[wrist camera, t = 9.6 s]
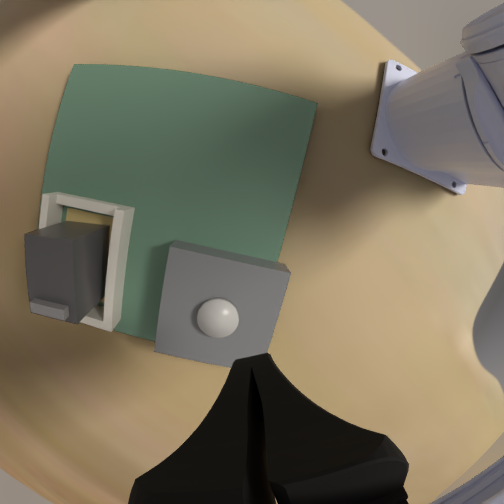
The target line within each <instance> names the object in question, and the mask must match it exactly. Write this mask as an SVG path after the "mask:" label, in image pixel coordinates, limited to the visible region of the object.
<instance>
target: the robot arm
mask: <svg viewBox="0 0 504 504" xmlns="http://www.w3.org/2000/svg"><path fill="white" fill-rule="evenodd" d="M461 45H462V47H463V48H464V49H465V52H463V53H461V54H459V55H456V56H454V57H452V58H449V59H447V60H445V61H443V62H440V63H438V64H436V65H434V66H432V67H430V68H427V69H425V70H423V71H421V72H419V73H417V72H415V71H413V70H412V69H410V68H408V67H406V66H404V65H402V64H400V63H398V62H396V61H394V60H392V59H390V60H388V61H387V62H386V63H385V69H384V76H383V83H382V89H381V95H380V101H379V107H378V112H377V118H376V123H375V128H374V133H373V138H372V143H371V148H370V151H371V153H372V155H373V156H375V157H377V158H380V159H382V160H385V161H387V162H390V163H392V164H394V165H397V166H399V167H401V168H404V169H406V170H408V171H411V172H413V173H415V174H417V175H420V176H422V177H424V178H426V179H428V180H431V181H433V182H435V183H437V184H439V185H441V186H443V187H445V188H447V189H449V190H451V191H453V192H455V193H457V194H460V195H463V194H464V193H465V191H466V185H467V184H474V185H484V186H494V187H503V188H504V3H503V4H501V5H499V6H497V7H495V8H493V9H491V10H490V11H488V12H486V13H484V14H483V15H481V16H479V17H478V18H476V19H475V20H473V21H471V22H470V23H469V24H467V25H466V26H465V27H464V28H463V29H462V40H461ZM396 67H398V68H399V71H398V70H397V69H396ZM382 149H384V150H385V156H384V155H383V154H382ZM452 183H453V186H452ZM408 468H409V464H408V462H407V460H406V458H405V456H404V455H403V453H402V452H401V451H400V450H399V448H398V447H397V446H396V445H395V444H394V443H393V442H392V441H391V440H390V439H389V438H388V437H387V436H386V435H384V434H380V433H377V432H373V431H370V430H366V429H363V428H360V427H358V426H356V425H353V424H351V423H348V422H346V421H344V420H342V419H340V418H338V417H337V416H335V415H333V414H331V413H329V412H327V411H326V410H324V409H323V408H321V407H319V406H318V405H317V404H315V403H314V402H312V401H311V400H310V399H308V398H307V397H306V396H305V395H304V394H302V393H301V392H300V391H299V390H298V389H297V388H296V387H295V386H294V385H293V384H292V383H291V382H290V381H289V380H288V379H287V378H286V377H285V376H284V375H283V373H282V372H281V371H280V370H279V368H278V367H277V366H276V364H275V363H274V361H273V359H272V357H271V355H270V354H268V353H264V354H259V355H255V356H250V357H245V358H241V359H236V360H235V361H234V362H233V364H232V367H231V370H230V372H229V375H228V377H227V380H226V382H225V384H224V386H223V388H222V390H221V392H220V394H219V396H218V398H217V399H216V401H215V403H214V404H213V406H212V408H211V410H210V411H209V413H208V414H207V416H206V417H205V418H204V420H203V421H202V422H201V424H200V425H199V426H198V428H197V429H196V430H195V431H194V432H193V433H192V435H191V436H190V437H189V438H188V439H187V440H186V441H185V442H184V443H183V444H182V445H181V446H180V447H179V448H178V449H177V450H176V451H175V452H173V453H172V454H171V455H170V456H169V457H167V458H166V459H165V460H164V461H162V462H161V463H160V464H158V465H157V466H155V467H154V468H152V469H151V470H149V471H148V472H146V473H145V474H143V475H141V476H140V477H138V478H136V479H135V482H134V485H133V487H132V490H131V493H130V497H129V502H128V504H276V501H275V498H276V500H277V503H278V504H408V502H407V500H406V499H407V498H408V495H407V493H406V491H405V489H404V487H403V485H404V482H405V479H406V476H407V473H408ZM430 504H504V456H503V457H502V458H500V459H499V460H498V461H496V462H495V463H494V464H492V465H491V466H489V467H488V468H487V469H485V470H484V471H482V472H481V473H480V474H478V475H477V476H475V477H474V478H472V479H471V480H469V481H468V482H466V483H465V484H463V485H461V486H460V487H458V488H456V489H455V490H453V491H452V492H450V493H448V494H446V495H444V496H443V497H441V498H439V499H437V500H435V501H433V502H432V503H430Z"/></svg>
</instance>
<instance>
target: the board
mask: <svg viewBox="0 0 504 504" xmlns="http://www.w3.org/2000/svg"><path fill="white" fill-rule="evenodd" d="M316 108H317V103H316V102H313V101H309V100H306V99H303V98H300V97H296V96H293V95H290V94H286V93H283V92H279V91H275V90H272V89H268V88H264V87H260V86H256V85H252V84H247V83H243V82H238V81H234V80H229V79H224V78H219V77H214V76H208V75H202V74H196V73H190V72H183V71H176V70H168V69H159V68H150V67H139V66H124V65H101V64H74V65H73V68H72V71H71V73H70V76H69V79H68V82H67V85H66V88H65V91H64V94H63V98H62V101H61V104H60V108H59V111H58V115H57V119H56V123H55V127H54V131H53V135H52V139H51V144H50V148H49V153H48V158H47V164H46V169H45V175H44V181H43V188H42V195H41V203H40V212H39V223H38V229H41V228H44V227H48V226H51V225H54V224H57V223H61V222H64V221H74V222H83V223H93V224H102V225H110V227H109V255H108V264H107V275H106V286H105V296H104V297H103V298H102V300H101V301H100V302H99V303H98V304H97V305H96V306H95V307H94V308H93V309H92V310H91V311H90V312H89V313H88V314H87V315H86V316H85V317H84V318H83V319H82V320H81V321H80V322H81V323H84V324H87V325H90V326H93V327H97V328H100V329H103V330H106V331H110V332H112V331H113V330H114V331H118V332H121V333H125V334H128V335H132V336H136V337H140V338H143V339H147V340H151V341H156V333H157V325H158V317H159V310H160V303H161V296H162V289H163V283H164V277H165V271H166V265H167V259H168V253H169V248H170V246H171V244H172V243H173V242H174V241H175V240H180V241H184V242H189V243H193V244H198V245H202V246H207V247H211V248H216V249H220V250H225V251H229V252H234V253H238V254H243V255H247V256H252V257H256V258H261V259H265V260H270V261H274V262H278V258H279V255H280V251H281V247H282V243H283V240H284V236H285V232H286V228H287V225H288V221H289V217H290V213H291V209H292V205H293V202H294V198H295V194H296V190H297V186H298V182H299V178H300V174H301V170H302V166H303V162H304V158H305V154H306V150H307V146H308V141H309V137H310V133H311V129H312V125H313V121H314V116H315V112H316Z"/></svg>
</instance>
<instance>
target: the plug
mask: <svg viewBox="0 0 504 504" xmlns="http://www.w3.org/2000/svg"><path fill="white" fill-rule="evenodd" d="M109 227H110V225H102V224H93V223H83V222H74V221H64V222H61V223H57V224H54V225H51V226H48V227H44V228H41V229H38V230H35V231H32V232H29V233H26V234H25V260H26V274H27V285H28V294H29V302H30V310H31V313H35V314H38V315H42V316H46V317H50V318H54V319H58V320H62V321H66V322H70V323H74V324H78V323H79V322H80V321H81V320H82V319H83V318H84V317H85V316H86V315H87V314H88V313H89V312H90V311H91V310H92V309H93V308H94V307H95V306H96V305H97V304H98V303H99V302H100V301H101V300H102V298H103V297H104V296H105V286H106V275H107V264H108V255H109Z"/></svg>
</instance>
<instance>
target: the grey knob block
mask: <svg viewBox="0 0 504 504" xmlns="http://www.w3.org/2000/svg"><path fill="white" fill-rule="evenodd" d="M290 275H291V272H290V271H289V269H288V268H287V266H286V265H285V264H283V263H279V262H274V261H270V260H265V259H261V258H256V257H252V256H247V255H243V254H238V253H234V252H229V251H225V250H220V249H216V248H211V247H207V246H202V245H198V244H193V243H189V242H184V241H180V240H175V241H174V242H173V243H172V244H171V246H170V248H169V253H168V259H167V265H166V271H165V277H164V283H163V289H162V296H161V303H160V310H159V317H158V325H157V333H156V341H155V350H154V352H158V353H163V354H167V355H171V356H175V357H180V358H184V359H189V360H194V361H198V362H203V363H208V364H214V365H219V366H224V367H230V368H231V367H232V364H233V362H234V361H235V360H236V359H241V358H245V357H250V356H255V355H259V354H264V353H267V351H268V348H269V345H270V341H271V338H272V335H273V332H274V329H275V325H276V322H277V319H278V316H279V312H280V309H281V306H282V302H283V299H284V296H285V292H286V289H287V285H288V282H289V279H290Z"/></svg>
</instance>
